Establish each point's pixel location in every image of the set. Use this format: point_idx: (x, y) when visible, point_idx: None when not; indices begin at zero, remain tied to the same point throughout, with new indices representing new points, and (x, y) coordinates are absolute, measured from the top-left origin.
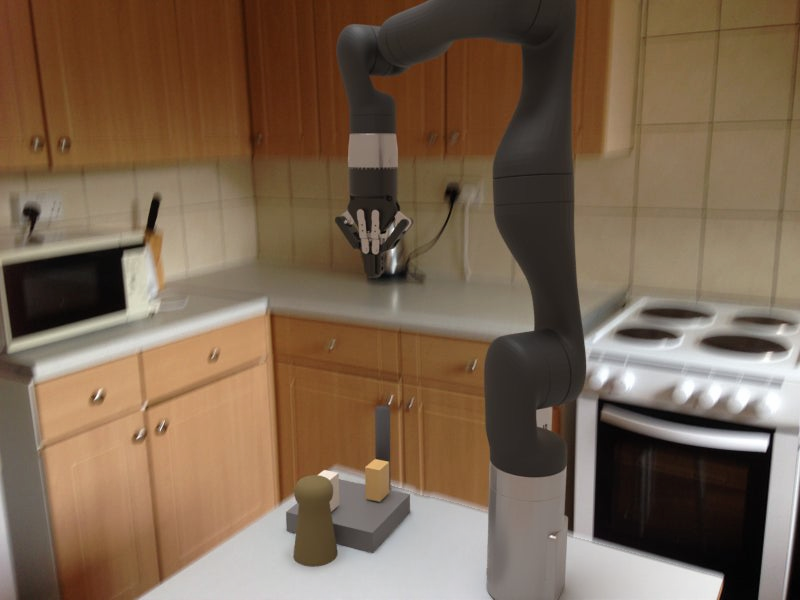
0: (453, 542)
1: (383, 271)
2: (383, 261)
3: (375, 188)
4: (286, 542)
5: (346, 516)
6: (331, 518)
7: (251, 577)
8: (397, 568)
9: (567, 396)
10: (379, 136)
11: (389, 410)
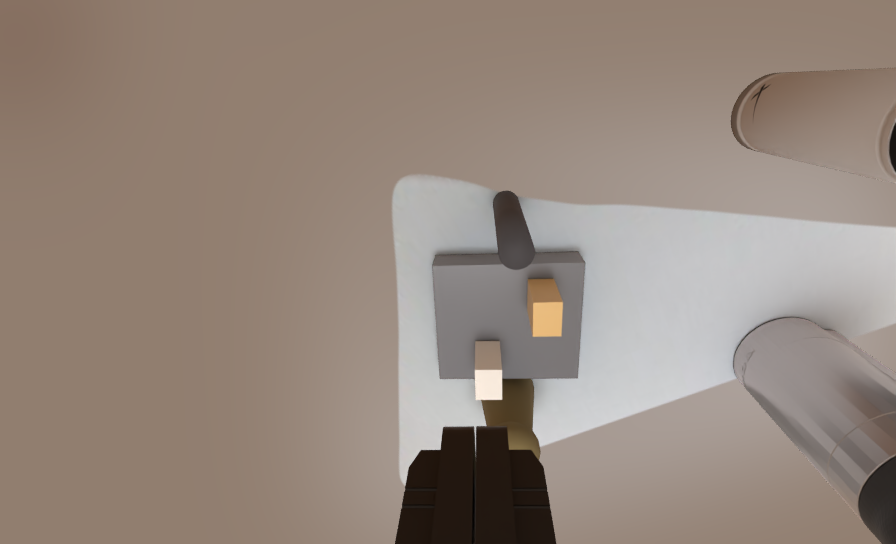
0: (668, 298)
1: (538, 463)
2: (553, 536)
3: None
4: (458, 382)
5: (523, 357)
6: (531, 414)
7: None
8: (615, 376)
9: None
10: None
11: (534, 250)
